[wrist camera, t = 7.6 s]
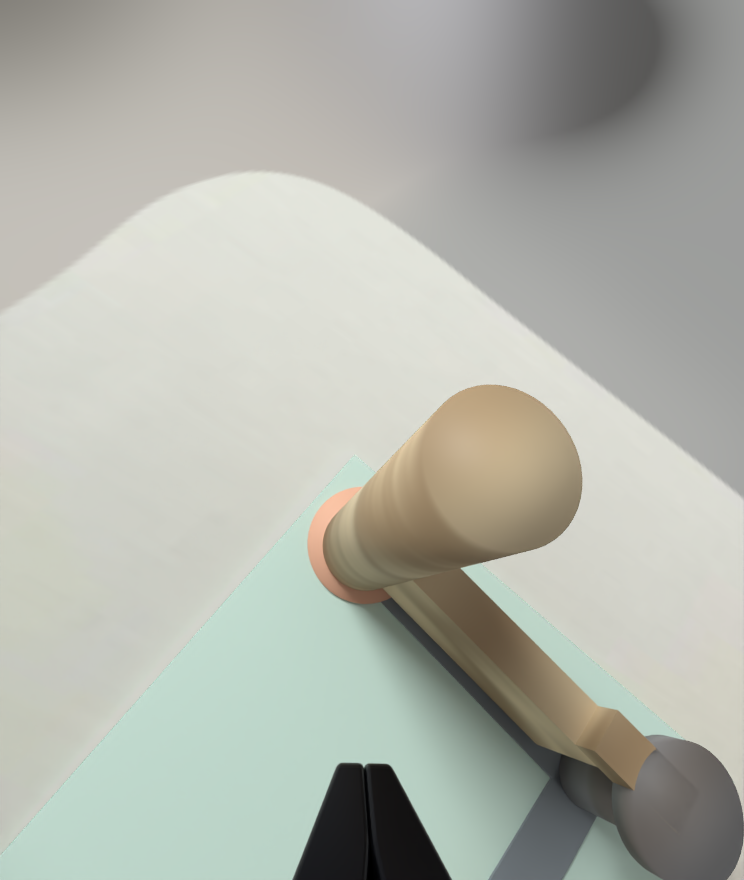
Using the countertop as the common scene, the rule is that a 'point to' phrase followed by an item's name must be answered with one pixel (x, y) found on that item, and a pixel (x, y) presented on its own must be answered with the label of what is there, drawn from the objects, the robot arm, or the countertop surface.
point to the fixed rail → (587, 787)
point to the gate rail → (497, 636)
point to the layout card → (323, 740)
